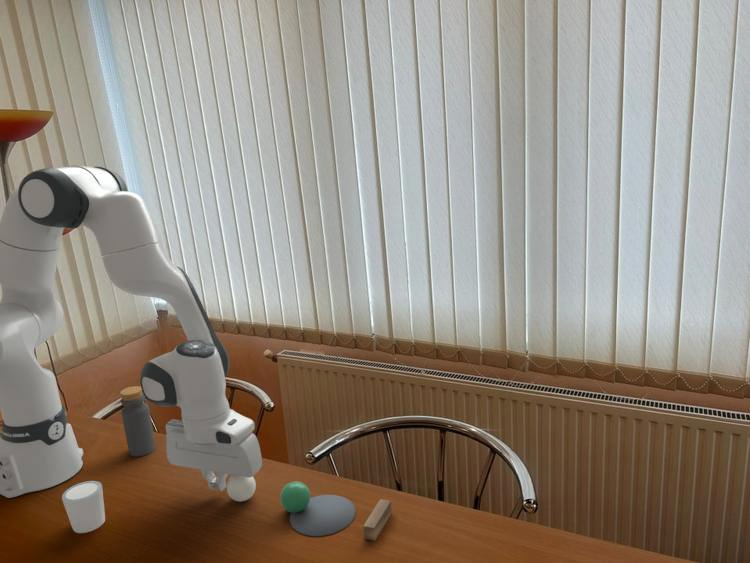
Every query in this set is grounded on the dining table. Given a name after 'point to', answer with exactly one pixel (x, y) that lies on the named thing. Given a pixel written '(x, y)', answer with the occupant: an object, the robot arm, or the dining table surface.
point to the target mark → (323, 516)
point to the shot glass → (85, 506)
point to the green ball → (295, 497)
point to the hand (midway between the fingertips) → (217, 488)
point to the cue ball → (241, 487)
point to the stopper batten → (377, 519)
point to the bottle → (137, 422)
